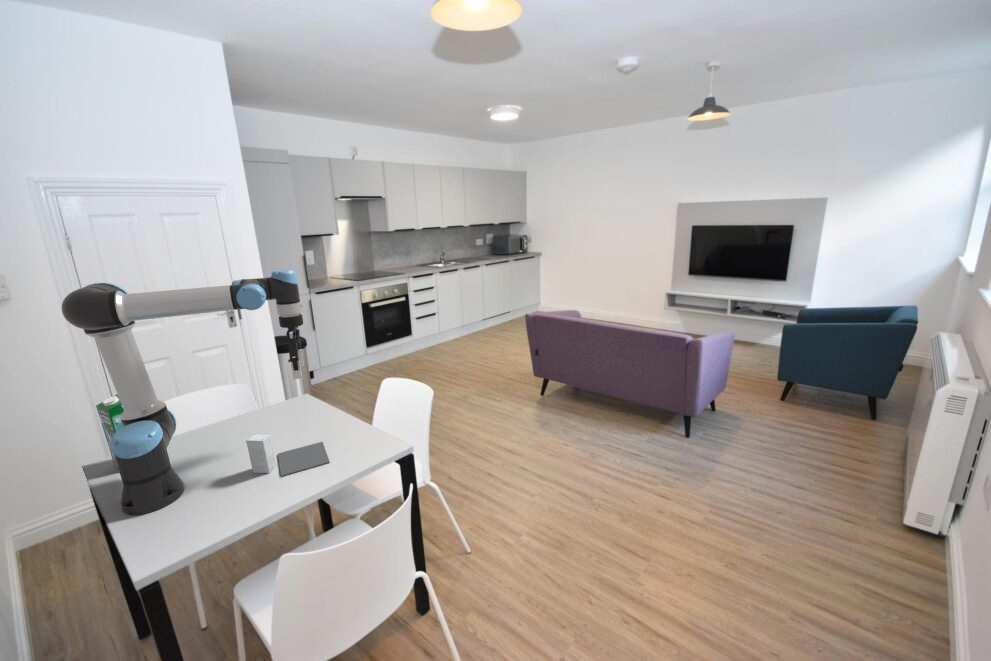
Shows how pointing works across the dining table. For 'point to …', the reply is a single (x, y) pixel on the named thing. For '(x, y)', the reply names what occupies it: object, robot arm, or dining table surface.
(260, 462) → the skincare box
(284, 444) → the dining table surface
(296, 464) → the mat
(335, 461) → the dining table surface
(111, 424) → the milk carton
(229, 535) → the dining table surface
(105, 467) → the dining table surface
